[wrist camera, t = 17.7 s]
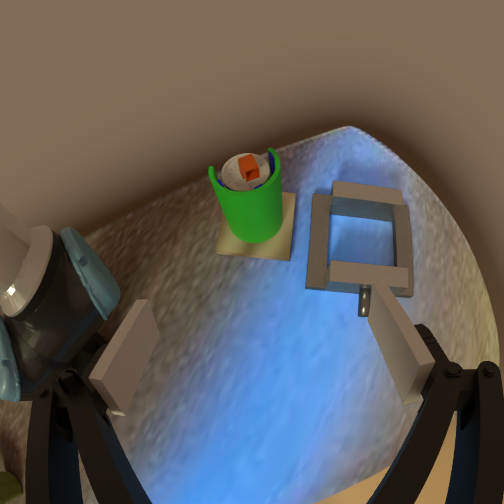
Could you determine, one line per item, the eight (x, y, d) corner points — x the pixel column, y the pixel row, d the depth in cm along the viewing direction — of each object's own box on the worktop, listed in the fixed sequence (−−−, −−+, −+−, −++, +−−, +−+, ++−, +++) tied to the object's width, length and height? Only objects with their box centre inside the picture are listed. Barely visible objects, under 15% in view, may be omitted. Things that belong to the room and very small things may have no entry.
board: (217, 253, 48) (215, 250, 47) (230, 192, 52) (228, 188, 51) (289, 261, 46) (289, 258, 45) (295, 197, 50) (295, 193, 49)
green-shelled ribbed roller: (267, 190, 50) (258, 115, 33) (293, 224, 47) (296, 153, 30) (222, 216, 49) (193, 147, 32) (246, 253, 46) (224, 192, 29)
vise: (302, 313, 43) (305, 307, 37) (312, 197, 50) (314, 178, 44) (409, 321, 40) (425, 316, 35) (405, 209, 47) (416, 192, 42)
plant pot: (30, 488, 32) (1, 496, 21) (26, 508, 28) (0, 516, 18) (4, 455, 35) (-25, 458, 24) (1, 477, 31) (-26, 481, 21)
